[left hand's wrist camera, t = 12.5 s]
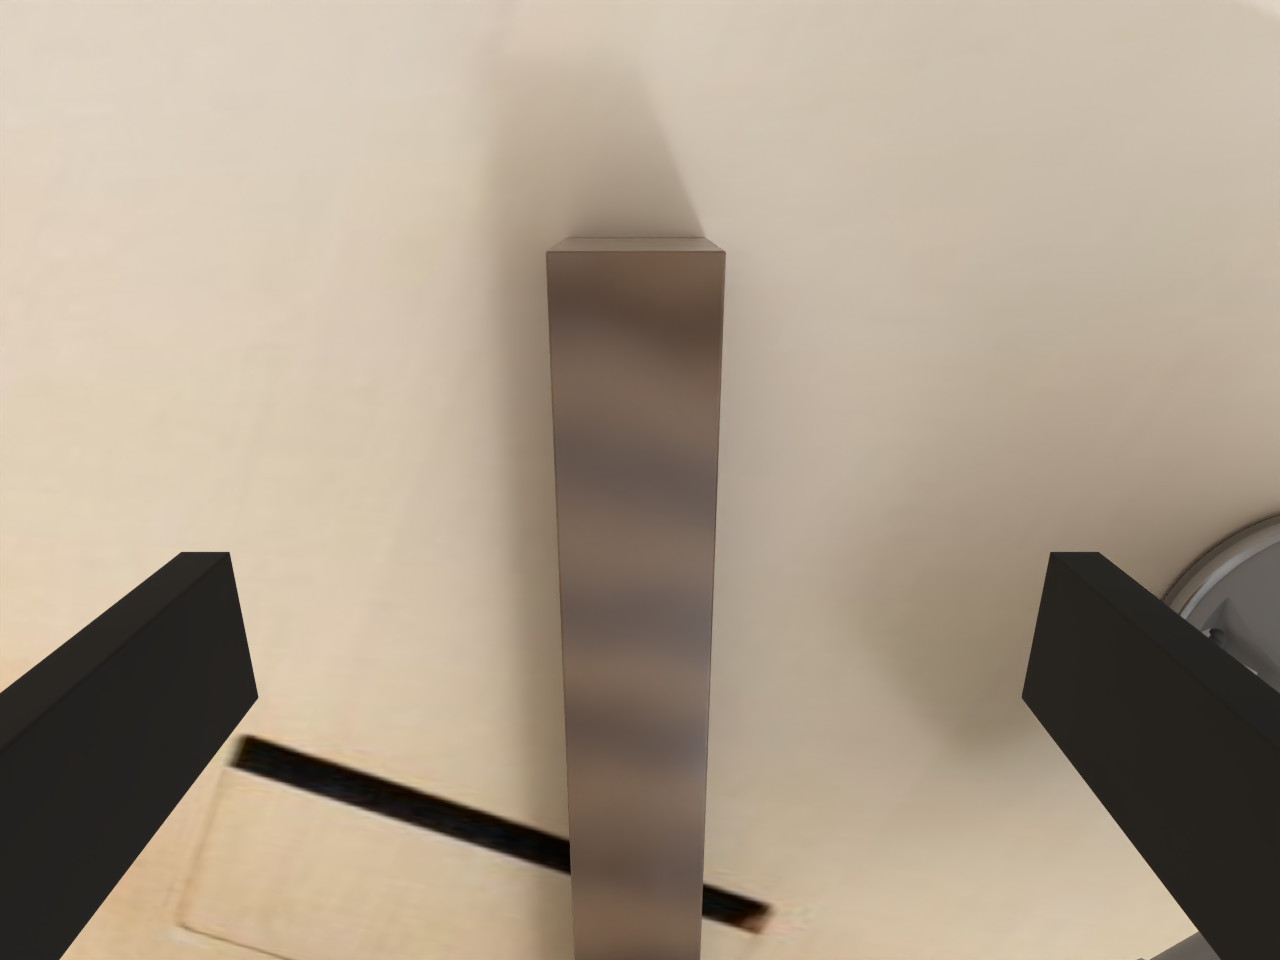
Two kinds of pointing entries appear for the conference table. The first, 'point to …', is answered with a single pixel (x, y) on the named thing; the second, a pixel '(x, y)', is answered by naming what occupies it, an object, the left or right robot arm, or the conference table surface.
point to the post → (636, 578)
